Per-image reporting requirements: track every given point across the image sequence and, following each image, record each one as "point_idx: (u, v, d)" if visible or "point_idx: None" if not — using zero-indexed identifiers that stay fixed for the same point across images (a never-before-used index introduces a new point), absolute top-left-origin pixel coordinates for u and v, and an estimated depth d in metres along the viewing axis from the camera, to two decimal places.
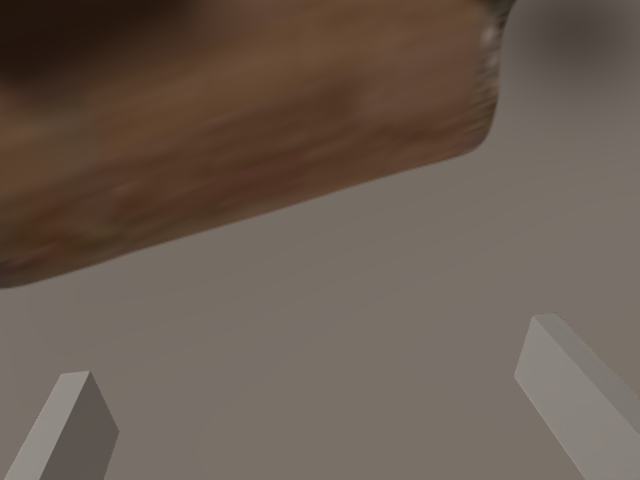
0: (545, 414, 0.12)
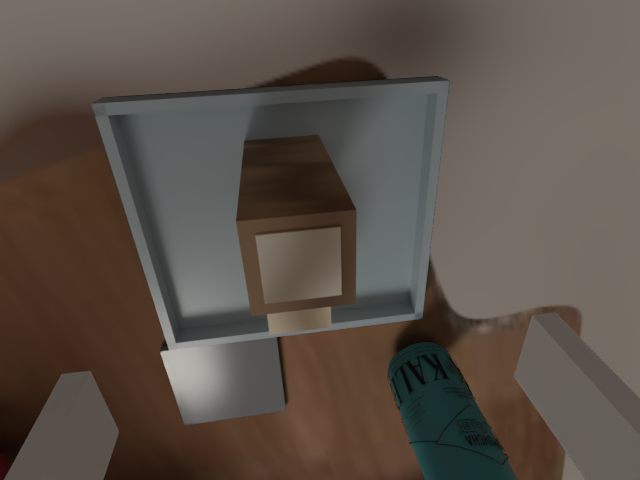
0: (545, 414, 0.12)
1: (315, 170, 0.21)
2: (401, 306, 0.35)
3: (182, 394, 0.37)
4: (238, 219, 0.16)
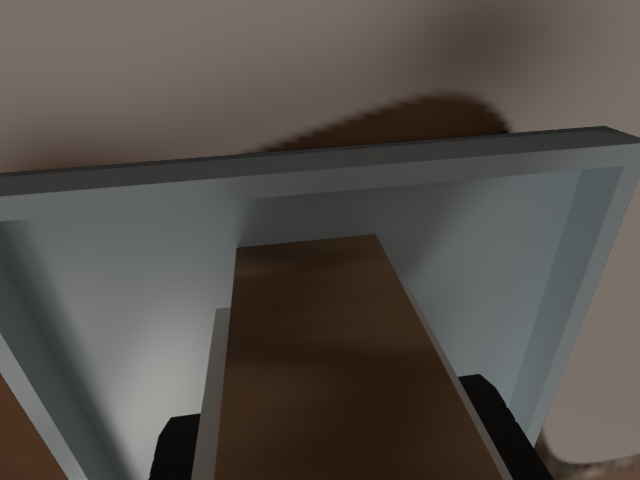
0: None
1: (406, 397, 0.08)
2: None
3: None
4: None
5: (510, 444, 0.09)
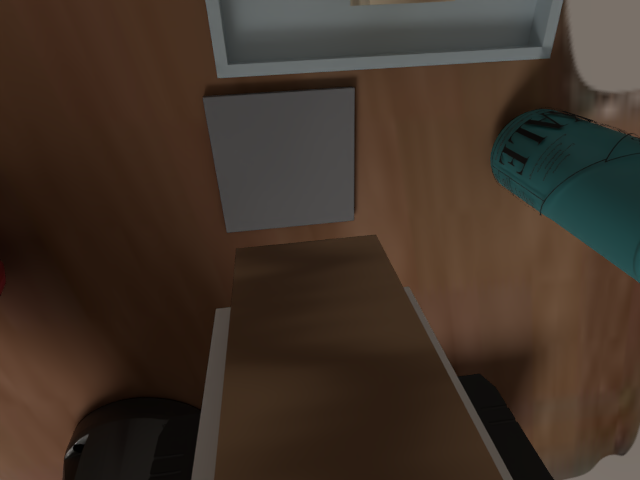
0: None
1: (407, 399, 0.08)
2: (520, 46, 0.26)
3: (227, 178, 0.29)
4: None
5: (510, 444, 0.09)
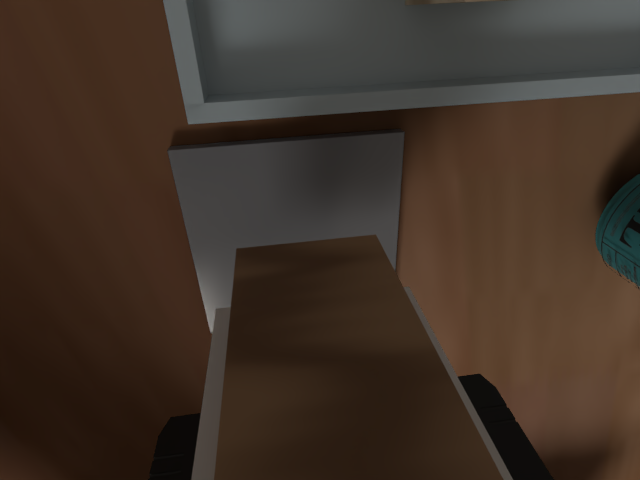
0: None
1: (407, 399, 0.08)
2: None
3: (209, 262, 0.19)
4: None
5: (510, 444, 0.09)
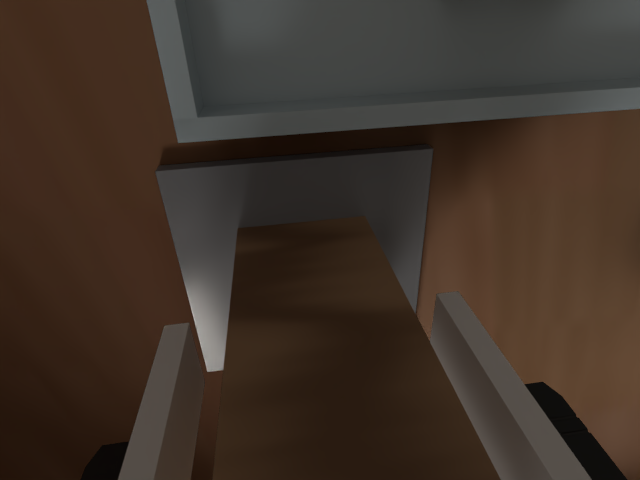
0: None
1: (385, 345, 0.10)
2: None
3: (206, 296, 0.17)
4: None
5: (587, 457, 0.09)
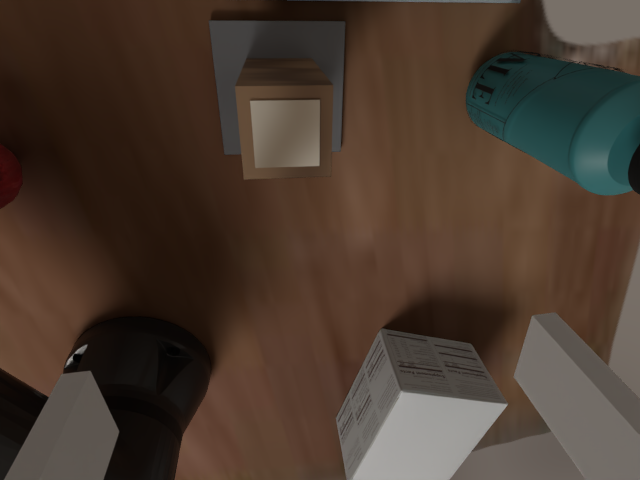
0: (545, 414, 0.12)
1: (304, 71, 0.25)
2: None
3: (227, 100, 0.32)
4: (237, 85, 0.20)
5: None
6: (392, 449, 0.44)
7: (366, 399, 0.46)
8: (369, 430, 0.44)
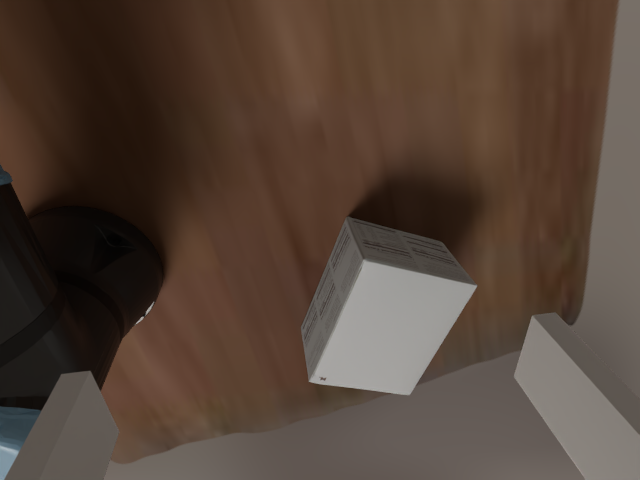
0: (545, 414, 0.12)
1: None
2: None
3: None
4: None
5: None
6: (355, 336, 0.41)
7: (330, 289, 0.44)
8: (332, 317, 0.42)
